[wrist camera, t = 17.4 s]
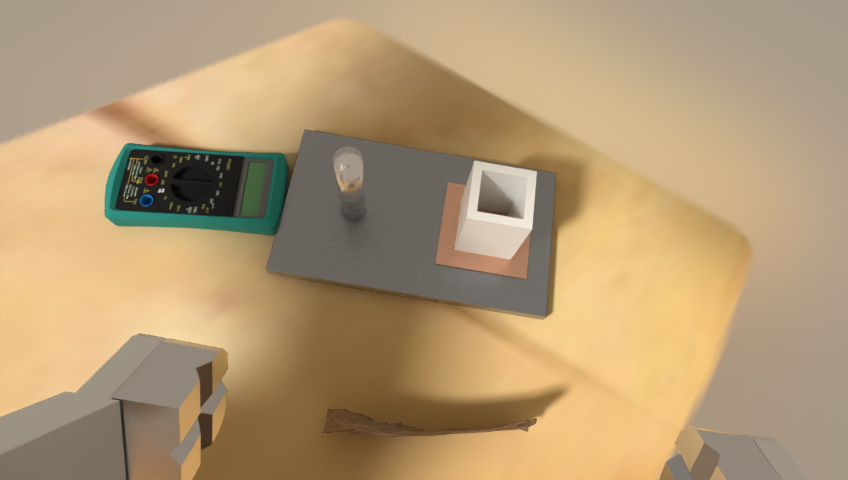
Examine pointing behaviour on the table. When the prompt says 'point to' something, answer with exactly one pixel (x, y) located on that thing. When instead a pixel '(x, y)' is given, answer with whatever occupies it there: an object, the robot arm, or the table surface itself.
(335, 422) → the brown bark piece
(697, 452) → the robot arm
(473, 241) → the sleeve
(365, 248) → the post plate
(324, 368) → the table surface
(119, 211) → the digital multimeter
